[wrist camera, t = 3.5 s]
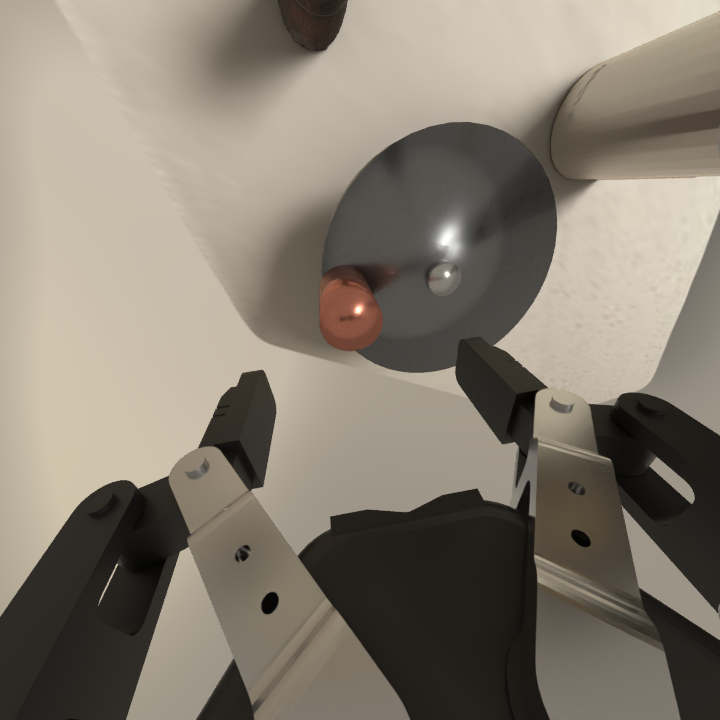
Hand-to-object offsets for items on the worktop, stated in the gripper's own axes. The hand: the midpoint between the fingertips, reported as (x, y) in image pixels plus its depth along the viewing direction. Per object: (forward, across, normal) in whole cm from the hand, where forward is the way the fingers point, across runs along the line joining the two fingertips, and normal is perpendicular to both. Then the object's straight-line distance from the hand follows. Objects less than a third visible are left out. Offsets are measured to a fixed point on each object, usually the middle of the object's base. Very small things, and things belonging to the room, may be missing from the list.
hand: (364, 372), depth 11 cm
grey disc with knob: (+12, -7, 0) cm, 14 cm away
